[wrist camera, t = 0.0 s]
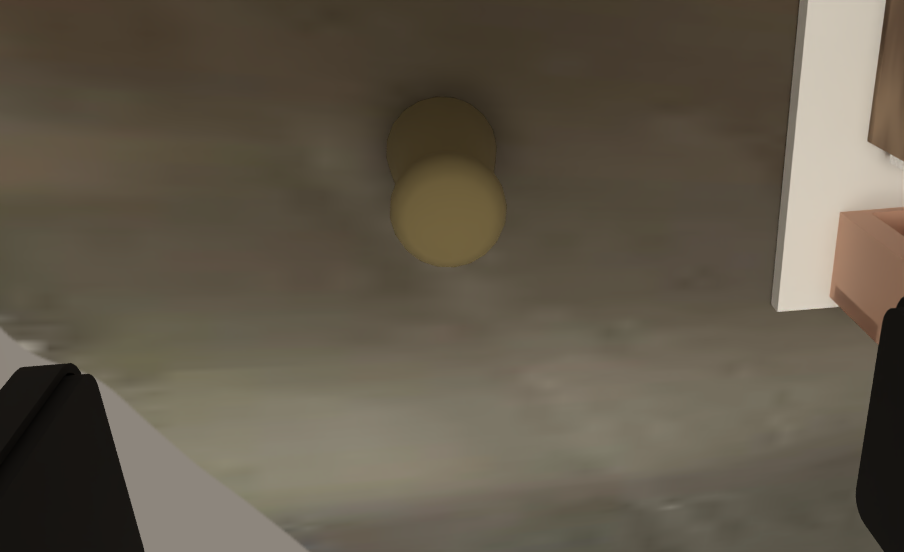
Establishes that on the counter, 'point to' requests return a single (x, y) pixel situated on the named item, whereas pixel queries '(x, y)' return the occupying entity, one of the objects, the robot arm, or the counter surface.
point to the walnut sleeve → (889, 84)
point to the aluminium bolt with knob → (897, 162)
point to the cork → (445, 182)
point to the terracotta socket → (869, 266)
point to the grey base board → (829, 146)
